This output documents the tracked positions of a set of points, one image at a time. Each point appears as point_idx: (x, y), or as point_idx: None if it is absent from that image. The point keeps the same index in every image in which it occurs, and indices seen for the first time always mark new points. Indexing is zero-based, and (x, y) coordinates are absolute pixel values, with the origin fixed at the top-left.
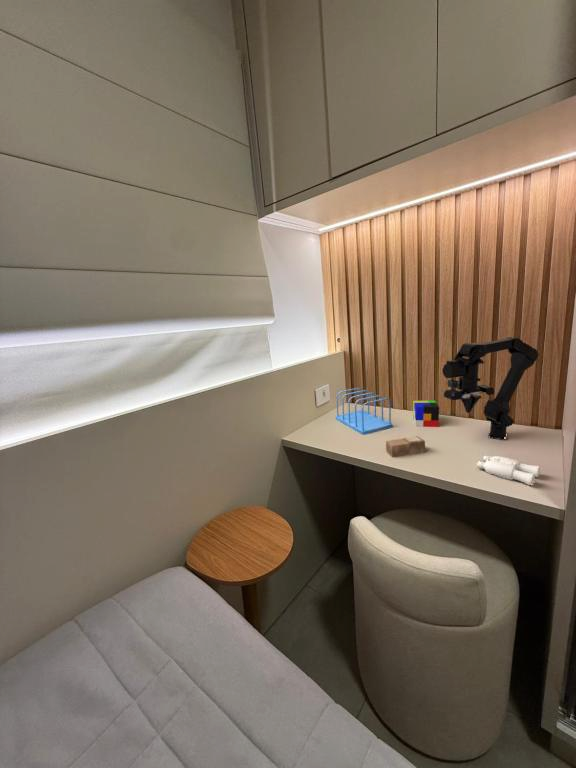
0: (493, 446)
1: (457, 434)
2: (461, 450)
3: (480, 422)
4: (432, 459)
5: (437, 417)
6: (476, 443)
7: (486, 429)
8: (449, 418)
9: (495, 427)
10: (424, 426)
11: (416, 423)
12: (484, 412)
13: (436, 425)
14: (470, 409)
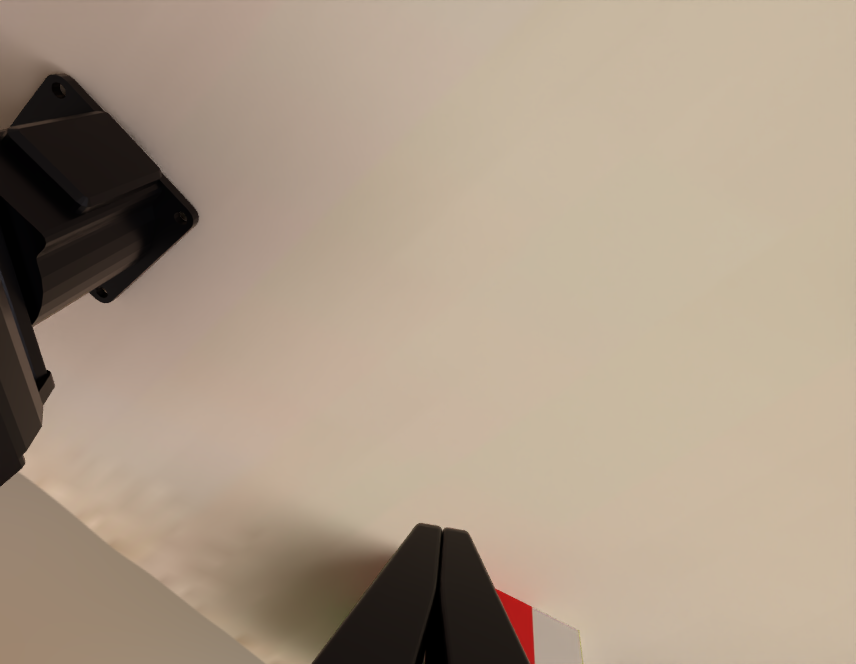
0: (309, 7)
1: (411, 403)
2: (734, 102)
3: (64, 464)
4: None
5: None
6: (417, 169)
7: (99, 356)
8: (239, 600)
9: (58, 207)
10: (523, 605)
11: (578, 657)
12: (8, 458)
13: None
14: (425, 591)
